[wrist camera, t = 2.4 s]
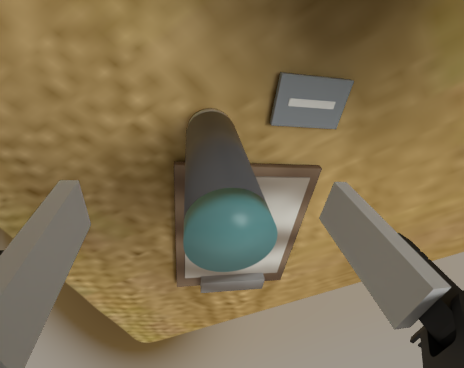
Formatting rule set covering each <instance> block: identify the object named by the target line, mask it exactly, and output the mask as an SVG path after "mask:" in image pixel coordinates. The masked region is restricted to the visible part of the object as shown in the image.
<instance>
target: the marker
mask: <svg viewBox="0 0 464 368" xmlns="http://www.w3.org/2000/svg"><path fill="white" fill-rule="evenodd" d="M277 234H278V232H277V227H276V224H275V222H274V220H273V217H272V215H271V213H270V210H269V208H268V205H267V203H266V201H265V198H264V196H263V193H262V191H261V189H260V186H259V184H258V181H257V179H256V177H255V174H254V172H253V170H252V167H251V165H250V162H249V160H248V158H247V155H246V153H245V150H244V148H243V146H242V143H241V141H240V138H239V136H238V134H237V131H236V129H235V127H234V124H233V123H232V121H231V120H230V119H229V117H228V116H227V115H226V114H225V113H224V112H222V111H220V110H217V109H212V108H208V109H203V110H201V111H199V112H197V113H196V114H194V115H193V116H192V118H191V119H190V121H189V123H188V127H187V130H186V154H185V195H184V236H183V247H184V251H185V254H186V256H187V257H188V259H189V260H190V261H191V262H192V263H194V264H195V265H197V266H198V267H200V268H203V269H205V270H209V271H215V272H231V271H237V270H241V269H245V268H247V267H250V266H252V265H254V264H256V263H258V262H259V261H261V260H262V259H264V258H265V257H266V256H267V255H268V254H269V253H270V252H271V250H272V249H273V247H274V246H275V243H276V241H277Z"/></svg>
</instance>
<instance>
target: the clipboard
mask: <svg viewBox="0 0 464 368" xmlns="http://www.w3.org/2000/svg"><path fill="white" fill-rule="evenodd" d="M250 165H251V167H252V170H253V172H254V174H255V177H256V179H257V181H258V184H259V186H260V189H261V191H262V193H263V196H264V198H265V201H266V203H267V205H268V208H269V210H270V213H271V215H272V217H273V220H274V222H275V224H276V227H277V232H278V234H277V241H276V243H275V246H274V247H273V249H272V250H271V252H270V253H269V254H268V255H267V256H266V257H265V258H264V259H262V260H261V261H259V262H258V263H256V264H254V265H252V266H250V267H247V268H245V269H241V270H237V271H231V272H215V271H209V270H205V269H203V268H200V267H198V266H197V265H195V264H194V263H192V262H191V261H190V260H189V259H188V257H187V256H186V254H185V251H184V247H183V236H184V195H185V162H174V186H175V227H176V268H177V287H182V286H196V285H201V293H207V292H221V291H234V290H248V289H261V288H262V286H263V283H264V281H270V280H280V279H281V276H282V273H283V271H284V268H285V265H286V263H287V260H288V258H289V255H290V252H291V250H292V247H293V244H294V242H295V239H296V236H297V234H298V231H299V228H300V226H301V223H302V220H303V218H304V215H305V212H306V210H307V207H308V204H309V202H310V199H311V196H312V194H313V191H314V188H315V186H316V183H317V180H318V178H319V175H320V172H321V170H322V168H321V167H320V166H318V165H281V164H250Z"/></svg>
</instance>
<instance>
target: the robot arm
mask: <svg viewBox="0 0 464 368" xmlns="http://www.w3.org/2000/svg"><path fill="white" fill-rule="evenodd" d="M319 219H320V220H321V222H322V223H323V225H324V226H325V228H326V229H327V231H328V232H329V234H330V235H331V237H332V238H333V240H334V241H335V243H336V244H337V246H338V247H339V248H340V250H341V251H342V253H343V254H344V256H345V257H346V259H347V260H348V262H349V263H350V265H351V266H352V268H353V269H354V271H355V272H356V274H357V275H358V276H359V278H360V279H361V281H362V282H363V284H364V285H365V287H366V288H367V290H368V291H369V292H370V294H371V296H372V297H373V299H374V300H375V302H376V303H377V304H378V306H379V307H380V309H381V310H382V312H383V313H384V315H385V316H386V318H387V319H388V321H389V322H390V324H391V325H392V327H393V328H394V329H401V328H409V327H411V326H412V325H413V324H414V323H415V322H416V321H417V320H418V319H419V320H420V321H421V323H422V324H423V325H424V326H423V327H422V328H421V329H420V330H419V331H417V332H416V333H415V334H414V335H413V336H412V337H411V340H410V342H412V343H414V342H415V341H417V340H418V339H419V338H421V342H420V343H419V344H418V346H419V347H421V348H422V359H423V368H464V291H462V290H461V289H460V288H459V287H458V286H456V284H455V283H454V282H453V281H451V279H449V278H448V277H447V276H446V275H445V274H444V273H443V272H442V271H441V270H440V269H439V268H438V267H437V266H436V265H435V264H434V263H433V262H432V261H431V260H430V259H428V257H427V256H426V255H425V254H424V253H423V252H420V249H419V248H418V247H417V246H416V245H415V244H414V243H413V242H411V241H410V240H409V239H407V238H406V237H404V236H403V235H401V234H400V233H397V232H396V231H395V230H394V229H393V228H392V227H391V226H390V225H389V224H388V223H387V222H386V221H385V220H384V219H383V218H382V217H381V216H380V215H379V214H378V213H377V212H376V211H375V210H374V209H373V208H372V207H371V206H370V205H369V204H368V203H367V202H366V201H365V200H364V199H363V198H362V197H361V196H360V195H359V194H358V193H357V192H356V191H355V190H354V189H353V188H352V187H351V186H350V185H349V184H348V183H347V182H334V184H333V186H332V189H331V191H330V194H329V196H328V198H327V201H326V203H325V206H324V208H323V211H322V213H321V215H320V218H319ZM90 226H91V222H90V219H89V215H88V212H87V208H86V205H85V201H84V198H83V194H82V190H81V187H80V183H79V180H60V181H59V182H58V183H57V184H56V186H55V187H54V188H53V189H52V191H51V192H50V193H49V195H48V196H47V197H46V198H45V200H44V201H43V202H42V203H41V205H40V206H39V207H38V208H37V210H36V211H35V212H34V214H33V215H32V216H31V217H30V219H29V220H28V221H27V222H26V224H25V225H24V226H23V227H22V229H21V230H20V231H19V232H18V234H17V235H16V236H15V238H14V239H13V240H12V241H11V243H10V244H9V245H8V246H7V248H6V249H5V250H2V251H0V368H25V366H26V364H27V361H28V359H29V357H30V355H31V353H32V350H33V348H34V346H35V344H36V342H37V340H38V337H39V336H40V333H41V331H42V329H43V327H44V325H45V322H46V321H47V318H48V316H49V314H50V312H51V310H52V308H53V305H54V303H55V301H56V299H57V297H58V295H59V292H60V290H61V288H62V286H63V284H64V282H65V280H66V277H67V275H68V273H69V271H70V269H71V267H72V265H73V262H74V260H75V258H76V256H77V254H78V252H79V250H80V247H81V245H82V243H83V241H84V239H85V237H86V234H87V232H88V230H89V228H90Z"/></svg>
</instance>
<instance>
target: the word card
mask: <svg viewBox="0 0 464 368" xmlns="http://www.w3.org/2000/svg"><path fill="white" fill-rule="evenodd" d="M353 83H354V81H353V80H350V79H340V78H331V77H321V76H311V75H302V74H292V73H282V72H280V76H279V81H278V86H277V91H276V96H275V100H274V105H273V110H272V115H271V120H270V124H271V125H275V126H292V127H309V128H326V129H336V128H337V125H338V123H339V120H340V117H341V115H342V112H343V109H344V107H345V104H346V101H347V99H348V96H349V93H350V91H351V88H352V85H353Z"/></svg>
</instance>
